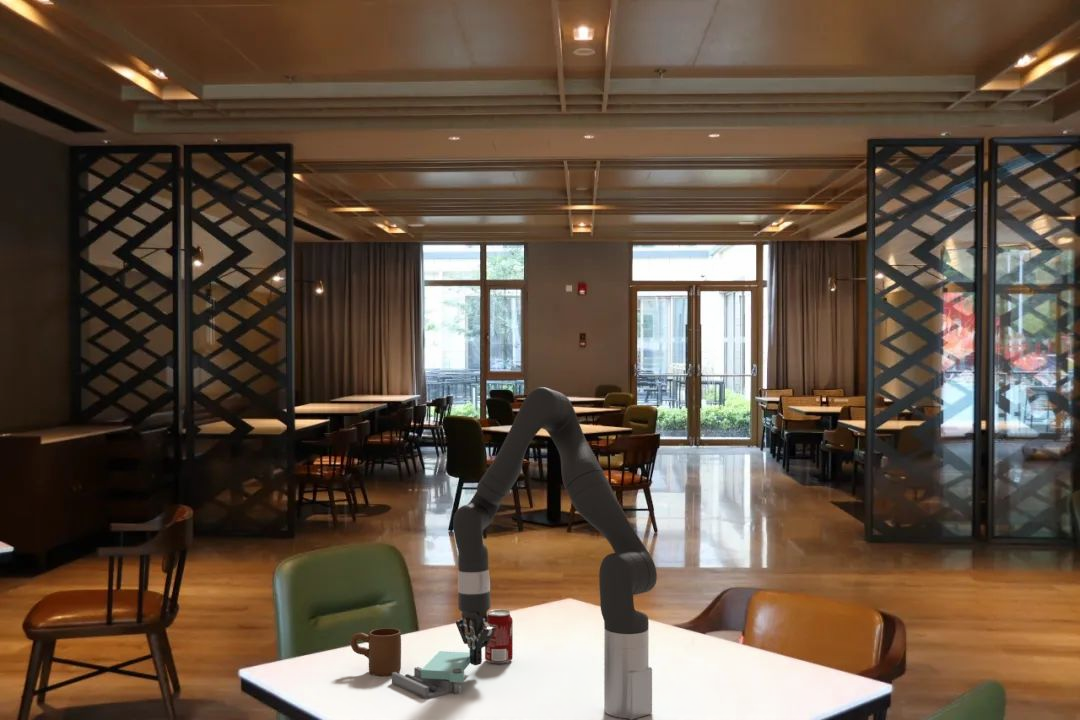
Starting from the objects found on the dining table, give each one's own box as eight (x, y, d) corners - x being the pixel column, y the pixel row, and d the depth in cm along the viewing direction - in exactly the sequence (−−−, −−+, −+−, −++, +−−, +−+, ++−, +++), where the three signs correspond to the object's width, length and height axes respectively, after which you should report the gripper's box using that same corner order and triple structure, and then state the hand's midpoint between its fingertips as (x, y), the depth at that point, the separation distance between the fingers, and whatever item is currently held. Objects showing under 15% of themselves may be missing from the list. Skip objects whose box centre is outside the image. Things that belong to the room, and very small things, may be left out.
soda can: (509, 666, 233) (509, 616, 233) (482, 664, 234) (482, 615, 235) (514, 658, 240) (514, 609, 240) (488, 656, 241) (488, 608, 241)
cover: (461, 682, 212) (461, 671, 212) (419, 680, 214) (419, 669, 214) (478, 660, 228) (478, 650, 228) (439, 658, 230) (439, 648, 230)
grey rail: (461, 692, 213) (461, 681, 213) (428, 701, 208) (428, 689, 208) (423, 676, 225) (423, 665, 225) (391, 683, 220) (391, 672, 220)
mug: (346, 676, 225) (347, 636, 225) (353, 666, 233) (353, 627, 233) (398, 676, 225) (398, 636, 225) (403, 667, 232) (403, 627, 233)
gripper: (503, 590, 223) (505, 666, 222) (470, 583, 233) (472, 655, 232) (477, 596, 218) (479, 673, 217) (444, 587, 228) (446, 661, 228)
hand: (475, 664), depth 225 cm, fingers closed
